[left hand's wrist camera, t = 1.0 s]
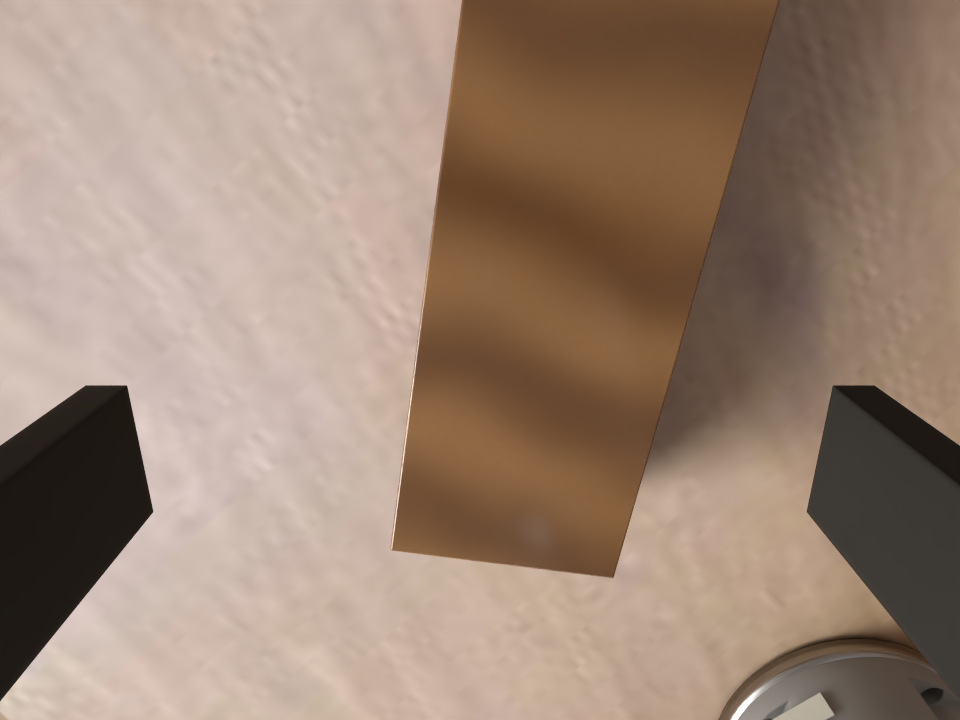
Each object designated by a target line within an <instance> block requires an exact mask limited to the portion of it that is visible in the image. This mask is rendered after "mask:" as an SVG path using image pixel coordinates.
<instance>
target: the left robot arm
mask: <svg viewBox="0 0 960 720" xmlns="http://www.w3.org/2000/svg"><path fill="white" fill-rule="evenodd" d="M152 513H153V508H152V503H151V499H150V494H149V489H148V484H147V479H146V475H145V470H144V465H143V460H142V455H141V451H140V446H139V441H138V436H137V431H136V427H135V422H134V417H133V412H132V407H131V403H130V398H129V393H128V388H127V386H84V387H83V388H82V389H80V390H79V391H77V392H76V393H75V394H73V395H72V396H70V397H69V398H67V399H66V400H65V401H63V402H62V403H60V404H59V405H58V406H56V407H55V408H53V409H52V410H50V411H49V412H48V413H46V414H45V415H43V416H42V417H40V418H39V419H38V420H36V421H35V422H33V423H32V424H31V425H29V426H28V427H26V428H25V429H23V430H22V431H21V432H19V433H18V434H16V435H15V436H13V437H12V438H11V439H9V440H8V441H6V442H5V443H4V444H2V445H1V446H0V701H1V699H2V698H3V697H4V696H5V695H6V693H7V692H8V691H9V690H10V688H11V687H12V686H13V685H14V683H15V682H16V681H17V680H18V678H19V677H20V676H21V675H22V674H23V672H24V671H25V670H26V669H27V667H28V666H29V665H30V664H31V662H32V661H33V660H34V659H35V657H36V656H37V655H38V654H39V653H40V651H41V650H42V649H43V648H44V646H45V645H46V644H47V643H48V641H49V640H50V639H51V638H52V636H53V635H54V634H55V633H56V632H57V630H58V629H59V628H60V627H61V625H62V624H63V623H64V622H65V620H66V619H67V618H68V617H69V615H70V614H71V613H72V612H73V610H74V609H75V608H76V607H77V606H78V604H79V603H80V602H81V601H82V599H83V598H84V597H85V596H86V594H87V593H88V592H89V591H90V589H91V588H92V587H93V586H94V585H95V583H96V582H97V581H98V580H99V578H100V577H101V576H102V575H103V573H104V572H105V571H106V570H107V568H108V567H109V566H110V565H111V564H112V562H113V561H114V560H115V559H116V557H117V556H118V555H119V554H120V552H121V551H122V550H123V549H124V547H125V546H126V545H127V544H128V543H129V541H130V540H131V539H132V538H133V536H134V535H135V534H136V533H137V531H138V530H139V529H140V528H141V526H142V525H143V524H144V523H145V521H146V520H147V519H148V518H149V517H150V515H151V514H152ZM807 513H808V514H809V515H810V517H811V518H812V519H813V520H814V521H815V523H816V524H817V525H818V526H819V528H820V529H821V530H822V531H823V533H824V534H825V535H826V536H827V538H828V539H829V540H830V541H831V543H832V544H833V545H834V546H835V547H836V549H837V550H838V551H839V552H840V554H841V555H842V556H843V557H844V559H845V560H846V561H847V562H848V564H849V565H850V566H851V567H852V568H853V570H854V571H855V572H856V573H857V575H858V576H859V577H860V578H861V580H862V581H863V582H864V583H865V585H866V586H867V587H868V588H869V589H870V591H871V592H872V593H873V594H874V596H875V597H876V598H877V599H878V601H879V602H880V603H881V604H882V606H883V607H884V608H885V609H886V610H887V612H888V613H889V614H890V615H891V617H892V618H893V619H894V620H895V622H896V623H897V624H898V625H899V627H900V628H901V629H902V630H903V632H904V633H905V634H906V635H907V636H908V638H909V639H910V640H911V641H912V643H913V644H914V645H915V646H916V648H917V649H918V650H919V651H920V653H919V652H917V651H915V650H913V649H911V648H908V647H906V646H903V645H900V644H896V643H892V642H888V641H881V640H874V639H845V640H835V641H829V642H824V643H820V644H815V645H812V646H808V647H805V648H802V649H799V650H797V651H794V652H791V653H789V654H787V655H785V656H783V657H780V658H778V659H776V660H775V661H773V662H771V663H769V664H768V665H766V666H765V667H763V668H762V669H760V670H759V671H757V672H756V673H755V674H753V675H752V676H751V677H750V678H748V679H747V680H746V681H745V682H744V683H743V684H742V685H741V686H740V687H739V688H738V689H737V691H736V692H735V693H734V694H733V695H732V697H731V698H730V699H729V701H728V702H727V704H726V706H725V707H724V709H723V711H722V713H721V716H720V718H719V720H960V446H959V445H958V444H956V443H955V442H954V441H952V440H951V439H949V438H948V437H947V436H945V435H944V434H942V433H941V432H939V431H938V430H937V429H935V428H934V427H932V426H931V425H929V424H928V423H927V422H925V421H924V420H922V419H921V418H920V417H918V416H917V415H915V414H914V413H912V412H911V411H910V410H908V409H907V408H905V407H904V406H902V405H901V404H900V403H898V402H897V401H895V400H894V399H893V398H891V397H890V396H888V395H887V394H885V393H884V392H883V391H881V390H880V389H878V388H877V387H876V386H833V388H832V393H831V398H830V403H829V407H828V412H827V417H826V422H825V427H824V431H823V436H822V441H821V446H820V451H819V455H818V460H817V465H816V470H815V475H814V479H813V484H812V489H811V494H810V499H809V503H808V508H807Z"/></svg>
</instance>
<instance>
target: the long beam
mask: <svg viewBox="0 0 960 720" xmlns="http://www.w3.org/2000/svg"><path fill="white" fill-rule="evenodd" d="M778 4H779V0H462V5H461V12H460V20H459V28H458V35H457V43H456V51H455V58H454V66H453V74H452V81H451V89H450V97H449V104H448V112H447V120H446V127H445V135H444V142H443V150H442V158H441V165H440V173H439V181H438V188H437V196H436V204H435V211H434V219H433V227H432V234H431V242H430V250H429V257H428V265H427V273H426V280H425V288H424V296H423V303H422V311H421V319H420V326H419V334H418V341H417V349H416V357H415V364H414V372H413V380H412V387H411V395H410V403H409V410H408V418H407V426H406V433H405V441H404V449H403V456H402V464H401V472H400V479H399V487H398V495H397V502H396V510H395V517H394V525H393V533H392V540H391V550H393V551H401V552H409V553H417V554H425V555H433V556H440V557H448V558H456V559H464V560H472V561H480V562H488V563H496V564H504V565H512V566H519V567H527V568H535V569H543V570H551V571H559V572H567V573H575V574H583V575H591V576H598V577H606V578H613V577H614V574H615V570H616V567H617V563H618V560H619V557H620V553H621V550H622V546H623V543H624V539H625V536H626V532H627V529H628V525H629V522H630V518H631V515H632V511H633V508H634V504H635V501H636V497H637V494H638V490H639V487H640V483H641V480H642V477H643V473H644V470H645V466H646V463H647V459H648V456H649V452H650V449H651V445H652V442H653V438H654V435H655V431H656V428H657V424H658V421H659V417H660V414H661V410H662V407H663V403H664V400H665V397H666V393H667V390H668V386H669V383H670V379H671V376H672V372H673V369H674V365H675V362H676V358H677V355H678V351H679V348H680V344H681V341H682V337H683V334H684V330H685V327H686V324H687V320H688V317H689V313H690V310H691V306H692V303H693V299H694V296H695V292H696V289H697V285H698V282H699V278H700V275H701V271H702V268H703V264H704V261H705V257H706V254H707V250H708V247H709V244H710V240H711V237H712V233H713V230H714V226H715V223H716V219H717V216H718V212H719V209H720V205H721V202H722V198H723V195H724V191H725V188H726V184H727V181H728V177H729V174H730V170H731V167H732V164H733V160H734V157H735V153H736V150H737V146H738V143H739V139H740V136H741V132H742V129H743V125H744V122H745V118H746V115H747V111H748V108H749V104H750V101H751V97H752V94H753V91H754V87H755V84H756V80H757V77H758V73H759V70H760V66H761V63H762V59H763V56H764V52H765V49H766V45H767V42H768V38H769V35H770V31H771V28H772V24H773V21H774V17H775V14H776V11H777V7H778Z"/></svg>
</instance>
